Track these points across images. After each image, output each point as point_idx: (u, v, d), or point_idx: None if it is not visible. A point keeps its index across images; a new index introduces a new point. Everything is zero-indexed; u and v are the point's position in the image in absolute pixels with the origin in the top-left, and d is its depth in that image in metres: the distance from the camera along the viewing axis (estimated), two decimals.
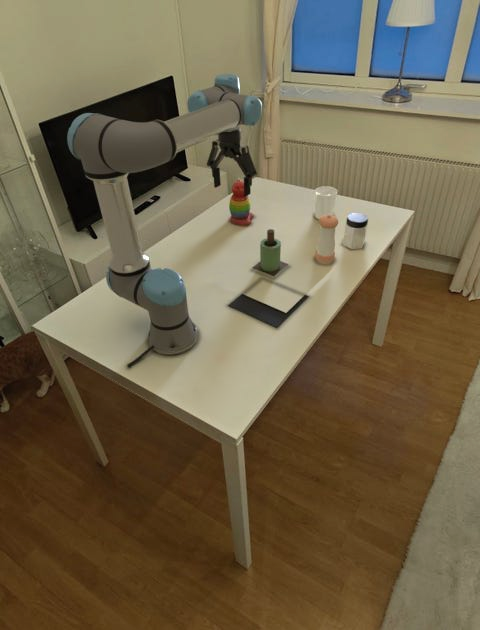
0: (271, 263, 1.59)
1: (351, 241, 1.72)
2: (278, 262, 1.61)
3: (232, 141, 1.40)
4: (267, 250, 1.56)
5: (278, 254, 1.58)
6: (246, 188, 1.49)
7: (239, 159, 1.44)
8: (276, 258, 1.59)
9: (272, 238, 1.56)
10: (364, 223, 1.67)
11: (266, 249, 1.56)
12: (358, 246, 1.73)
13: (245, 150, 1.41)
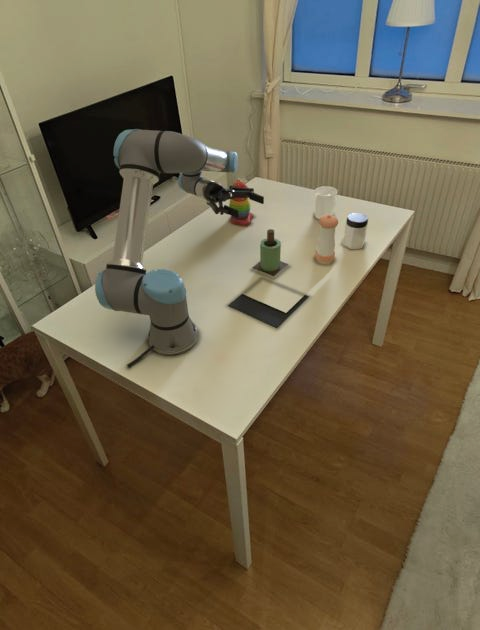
0: (271, 263, 1.59)
1: (351, 241, 1.72)
2: (278, 262, 1.61)
3: None
4: (267, 250, 1.56)
5: (278, 254, 1.58)
6: None
7: None
8: (276, 258, 1.59)
9: (272, 238, 1.56)
10: (364, 223, 1.67)
11: (266, 249, 1.56)
12: (358, 246, 1.73)
13: None
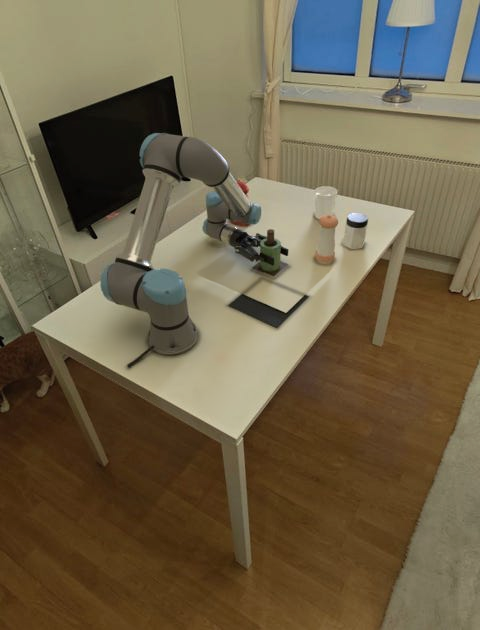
0: None
1: (351, 241, 1.72)
2: (278, 262, 1.61)
3: None
4: (267, 250, 1.56)
5: (278, 254, 1.58)
6: None
7: None
8: (276, 258, 1.59)
9: (272, 238, 1.56)
10: (364, 223, 1.67)
11: (266, 249, 1.56)
12: (358, 246, 1.73)
13: None
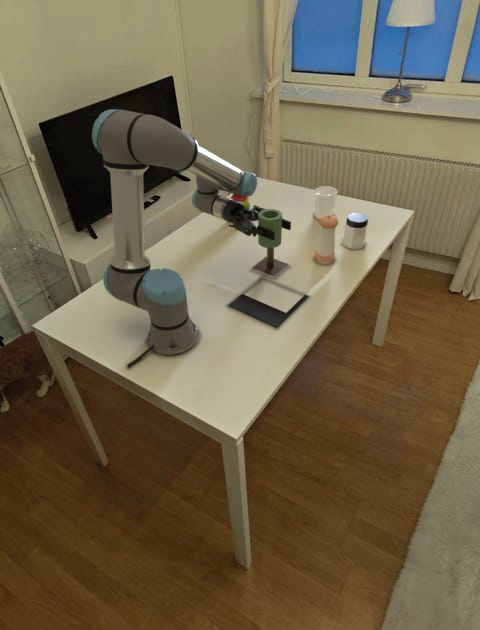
0: None
1: (351, 241, 1.72)
2: (279, 237, 1.38)
3: None
4: (266, 222, 1.33)
5: (279, 227, 1.35)
6: None
7: None
8: (277, 232, 1.36)
9: None
10: (364, 223, 1.67)
11: (265, 221, 1.33)
12: (358, 246, 1.73)
13: None
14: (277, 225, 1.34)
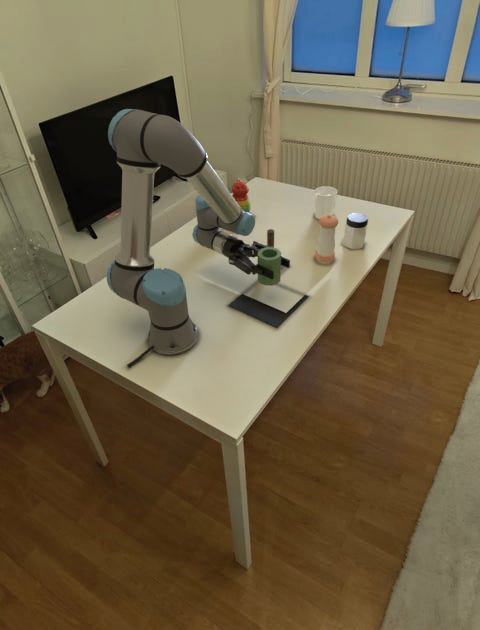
0: None
1: (351, 241, 1.72)
2: (278, 275, 1.40)
3: None
4: (265, 262, 1.35)
5: (278, 266, 1.38)
6: None
7: None
8: (276, 270, 1.38)
9: (272, 238, 1.56)
10: (364, 223, 1.67)
11: (264, 260, 1.35)
12: (358, 246, 1.73)
13: None
14: (276, 264, 1.36)
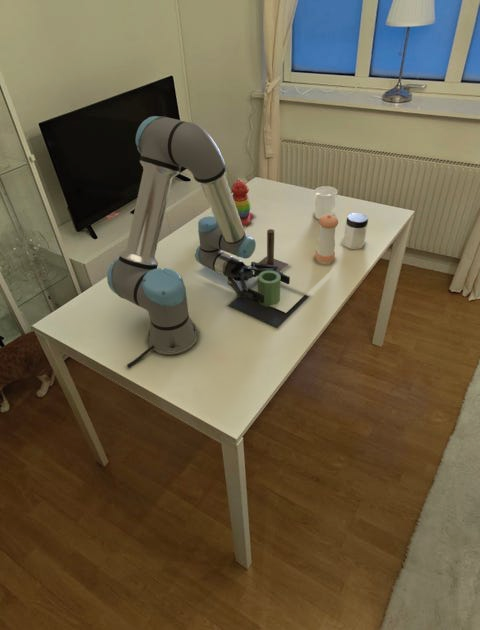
0: (270, 298, 1.45)
1: (351, 241, 1.72)
2: (278, 297, 1.46)
3: None
4: (265, 285, 1.41)
5: (278, 289, 1.44)
6: None
7: None
8: (275, 293, 1.44)
9: (272, 238, 1.56)
10: (364, 223, 1.67)
11: (264, 284, 1.41)
12: (358, 246, 1.73)
13: None
14: (276, 287, 1.42)
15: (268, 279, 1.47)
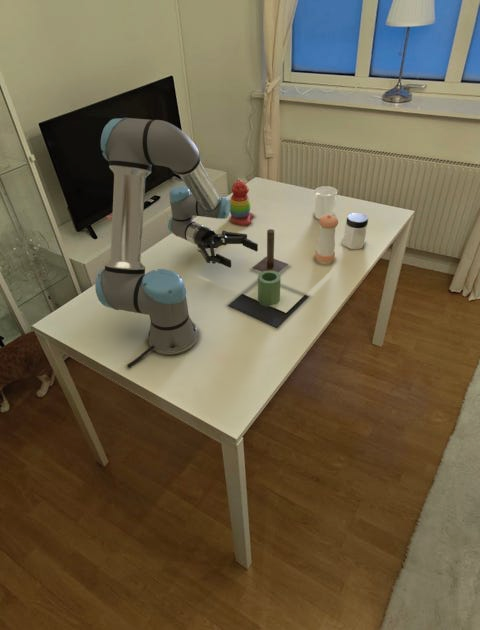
0: (270, 298, 1.45)
1: (351, 241, 1.72)
2: (278, 297, 1.46)
3: None
4: (265, 285, 1.41)
5: (278, 289, 1.44)
6: None
7: None
8: (275, 293, 1.44)
9: (272, 238, 1.56)
10: (364, 223, 1.67)
11: (264, 284, 1.41)
12: (358, 246, 1.73)
13: None
14: (276, 287, 1.42)
15: (268, 279, 1.47)
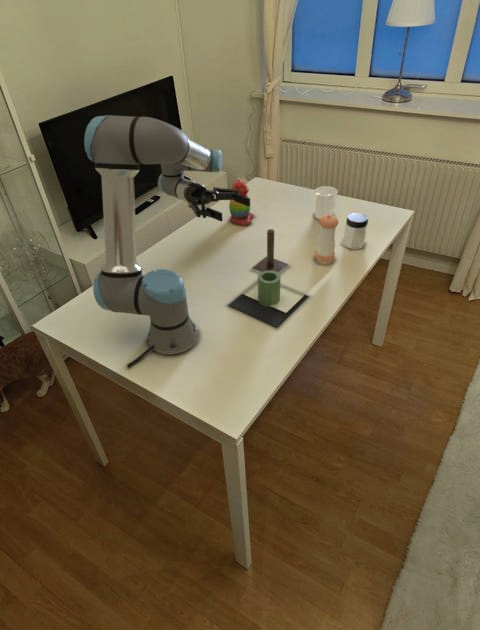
0: (270, 298, 1.45)
1: (351, 241, 1.72)
2: (278, 297, 1.46)
3: None
4: (265, 285, 1.41)
5: (278, 289, 1.44)
6: None
7: None
8: (275, 293, 1.44)
9: (272, 238, 1.56)
10: (364, 223, 1.67)
11: (264, 284, 1.41)
12: (358, 246, 1.73)
13: None
14: (276, 287, 1.42)
15: (268, 279, 1.47)
